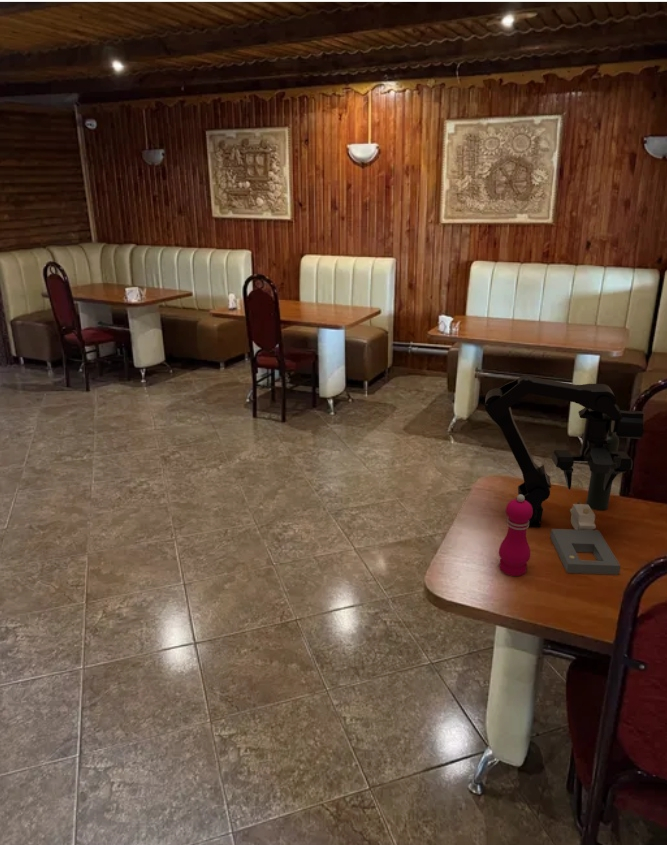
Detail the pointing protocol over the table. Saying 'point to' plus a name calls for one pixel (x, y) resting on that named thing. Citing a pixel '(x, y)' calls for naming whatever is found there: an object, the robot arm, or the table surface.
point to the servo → (582, 517)
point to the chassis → (584, 541)
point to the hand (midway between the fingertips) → (586, 489)
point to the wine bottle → (601, 480)
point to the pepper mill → (516, 538)
